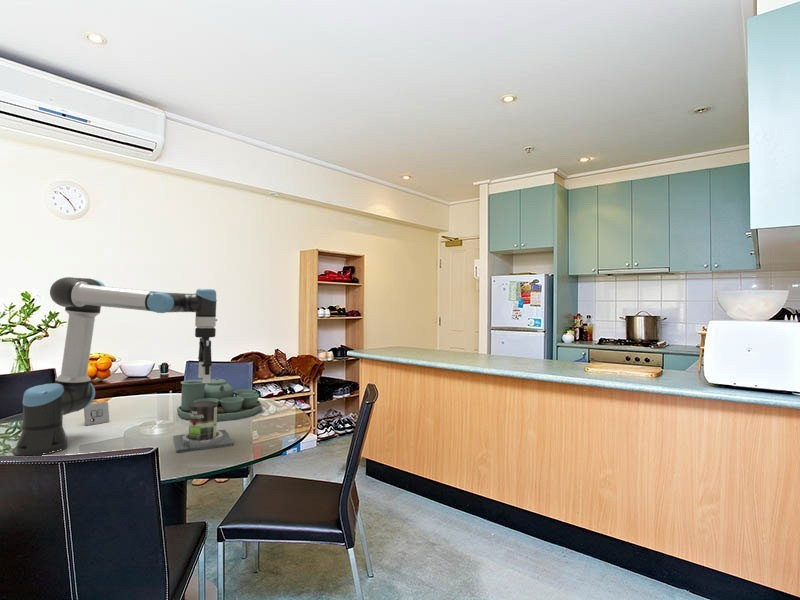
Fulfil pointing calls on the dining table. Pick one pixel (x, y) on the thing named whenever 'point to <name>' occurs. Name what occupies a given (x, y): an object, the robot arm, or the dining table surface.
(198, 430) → the coffee can
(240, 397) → the tea set
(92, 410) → the electrical switch
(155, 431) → the dining table surface
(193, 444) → the flange base
